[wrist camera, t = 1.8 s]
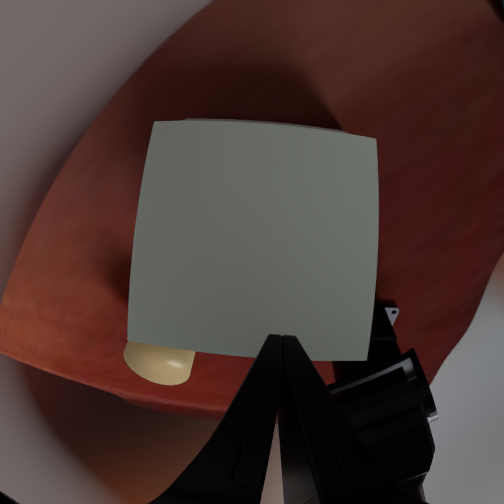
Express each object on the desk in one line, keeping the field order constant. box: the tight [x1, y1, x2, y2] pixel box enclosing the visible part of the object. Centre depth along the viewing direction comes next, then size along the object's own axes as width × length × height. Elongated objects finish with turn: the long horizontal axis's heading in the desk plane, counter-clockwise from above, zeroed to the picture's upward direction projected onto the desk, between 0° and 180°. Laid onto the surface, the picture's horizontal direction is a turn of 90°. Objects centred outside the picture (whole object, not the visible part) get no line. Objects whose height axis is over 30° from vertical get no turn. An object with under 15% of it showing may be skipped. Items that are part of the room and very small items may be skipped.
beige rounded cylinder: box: [124, 341, 195, 385], centre depth 24 cm, size 6×6×6 cm
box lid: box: [128, 121, 379, 361], centre depth 13 cm, size 10×11×1 cm
